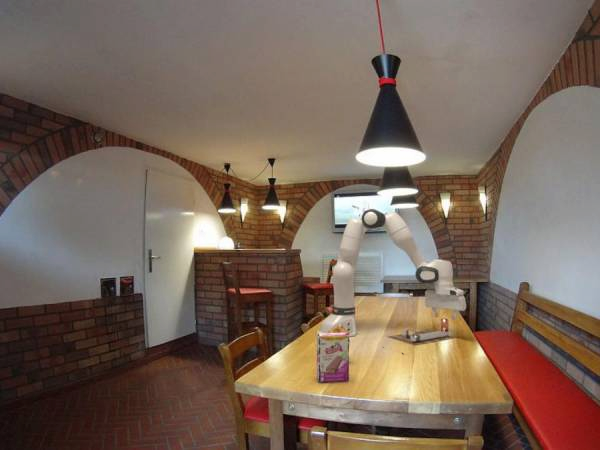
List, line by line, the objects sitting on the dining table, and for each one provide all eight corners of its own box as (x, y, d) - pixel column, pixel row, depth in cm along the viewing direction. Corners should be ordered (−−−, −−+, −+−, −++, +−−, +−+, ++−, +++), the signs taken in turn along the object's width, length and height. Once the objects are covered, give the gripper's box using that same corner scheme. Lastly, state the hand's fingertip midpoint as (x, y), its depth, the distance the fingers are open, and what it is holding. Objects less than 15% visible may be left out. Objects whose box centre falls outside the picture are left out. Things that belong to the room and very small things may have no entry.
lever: (415, 342, 175) (414, 324, 176) (409, 340, 179) (409, 323, 179) (450, 335, 187) (450, 319, 188) (444, 334, 190) (444, 318, 191)
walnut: (412, 340, 182) (412, 332, 182) (406, 338, 185) (406, 330, 186) (418, 339, 184) (418, 331, 184) (412, 337, 187) (412, 329, 188)
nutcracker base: (415, 348, 172) (414, 336, 173) (386, 339, 189) (386, 328, 189) (457, 340, 186) (456, 329, 186) (427, 332, 203) (427, 322, 203)
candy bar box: (319, 383, 130) (318, 336, 131) (316, 378, 135) (316, 332, 136) (349, 381, 132) (349, 335, 133) (346, 376, 137) (345, 331, 138)
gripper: (422, 289, 194) (423, 316, 193) (461, 292, 180) (462, 321, 179) (427, 288, 199) (428, 314, 198) (466, 291, 184) (468, 319, 183)
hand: (445, 317), depth 188 cm, fingers open, 8 cm apart
